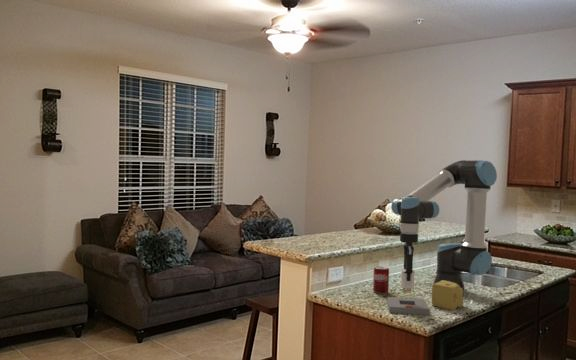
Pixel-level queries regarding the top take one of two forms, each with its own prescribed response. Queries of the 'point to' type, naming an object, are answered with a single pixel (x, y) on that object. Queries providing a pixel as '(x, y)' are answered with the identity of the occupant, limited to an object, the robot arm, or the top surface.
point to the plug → (404, 281)
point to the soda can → (381, 280)
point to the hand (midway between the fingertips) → (407, 286)
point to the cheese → (447, 295)
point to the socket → (407, 305)
